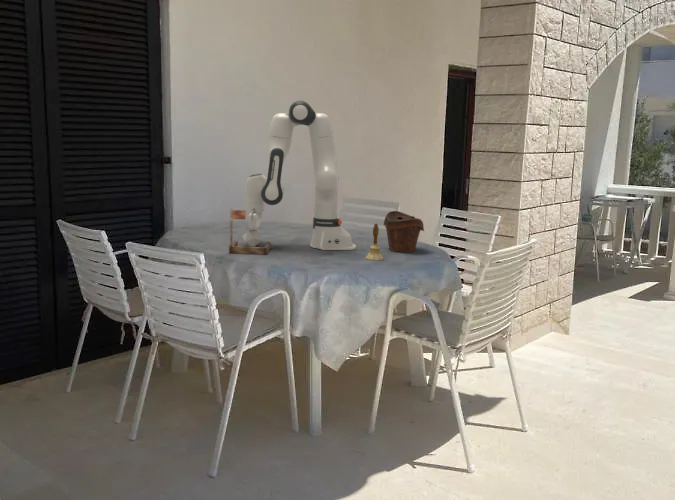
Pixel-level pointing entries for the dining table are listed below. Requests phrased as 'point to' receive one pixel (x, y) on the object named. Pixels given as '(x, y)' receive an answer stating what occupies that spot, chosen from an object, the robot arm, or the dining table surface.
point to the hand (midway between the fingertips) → (254, 236)
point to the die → (251, 238)
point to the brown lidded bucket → (402, 231)
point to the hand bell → (375, 247)
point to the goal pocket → (234, 246)
